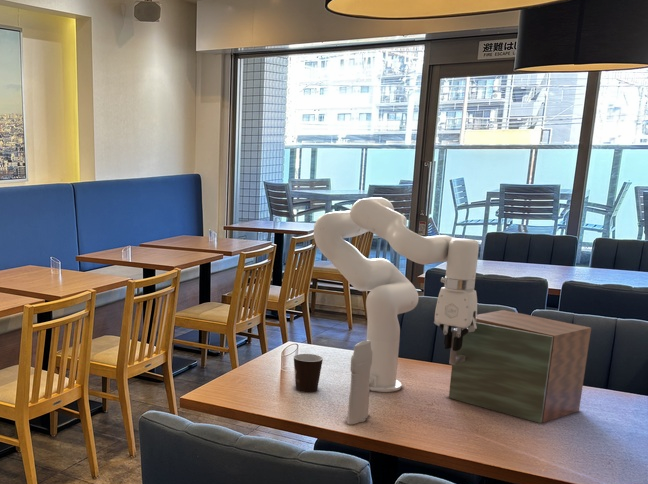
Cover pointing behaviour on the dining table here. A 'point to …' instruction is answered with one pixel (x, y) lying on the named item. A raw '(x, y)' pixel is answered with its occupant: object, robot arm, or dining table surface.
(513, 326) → the cupboard
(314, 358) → the coffee mug
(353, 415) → the tall pale column
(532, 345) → the cupboard door
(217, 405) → the dining table surface
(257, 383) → the dining table surface
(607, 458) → the dining table surface
